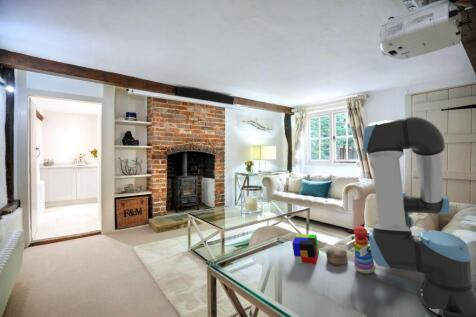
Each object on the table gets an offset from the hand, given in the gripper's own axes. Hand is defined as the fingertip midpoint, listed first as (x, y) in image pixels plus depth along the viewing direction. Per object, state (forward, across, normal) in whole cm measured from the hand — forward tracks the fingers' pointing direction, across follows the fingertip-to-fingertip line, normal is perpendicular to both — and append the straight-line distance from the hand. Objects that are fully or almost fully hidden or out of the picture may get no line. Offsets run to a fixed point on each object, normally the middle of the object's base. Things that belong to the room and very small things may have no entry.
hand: (353, 250), depth 97 cm
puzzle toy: (+4, +25, -12) cm, 28 cm away
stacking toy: (-5, 0, -11) cm, 12 cm away
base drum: (-3, +13, -11) cm, 18 cm away
